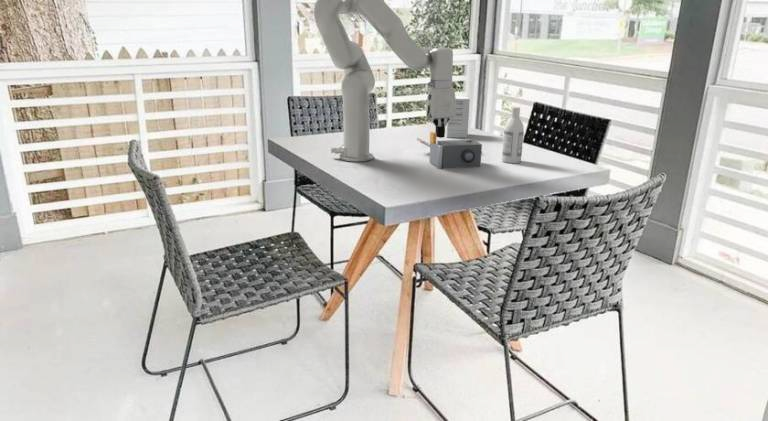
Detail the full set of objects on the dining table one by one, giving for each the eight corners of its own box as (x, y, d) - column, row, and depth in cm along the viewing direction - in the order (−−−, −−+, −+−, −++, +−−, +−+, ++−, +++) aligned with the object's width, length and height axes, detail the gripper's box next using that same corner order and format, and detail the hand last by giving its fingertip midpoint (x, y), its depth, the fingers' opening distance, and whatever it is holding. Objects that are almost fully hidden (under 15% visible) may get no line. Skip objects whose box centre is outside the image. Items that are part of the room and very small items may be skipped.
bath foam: (518, 159, 222) (523, 105, 215) (522, 163, 215) (527, 108, 209) (500, 158, 222) (504, 105, 215) (503, 163, 215) (508, 108, 209)
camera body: (443, 169, 207) (444, 145, 204) (436, 162, 216) (437, 139, 213) (481, 167, 209) (483, 143, 206) (473, 161, 218) (474, 138, 215)
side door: (438, 168, 207) (439, 137, 203) (428, 162, 215) (430, 131, 212) (442, 168, 207) (443, 136, 204) (432, 162, 216) (433, 131, 212)
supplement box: (467, 138, 257) (470, 99, 251) (446, 137, 257) (448, 98, 251) (465, 133, 266) (467, 95, 260) (444, 133, 266) (446, 95, 260)
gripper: (429, 87, 198) (429, 141, 204) (465, 84, 206) (463, 136, 212) (417, 85, 204) (416, 137, 210) (451, 82, 212) (450, 132, 218)
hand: (440, 136), depth 211 cm, fingers closed
